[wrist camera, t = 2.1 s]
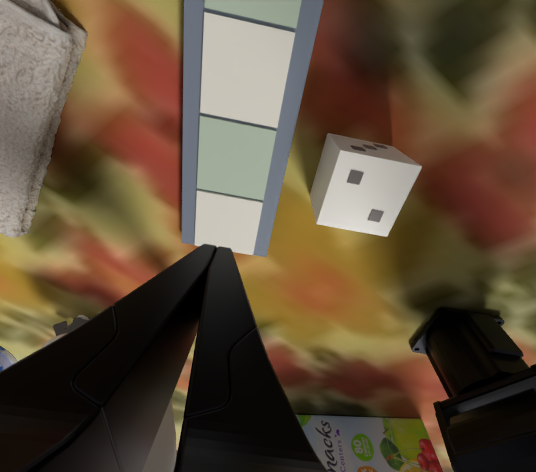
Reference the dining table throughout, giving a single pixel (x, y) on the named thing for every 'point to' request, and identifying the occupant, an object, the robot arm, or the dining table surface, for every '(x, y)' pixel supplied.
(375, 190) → the die
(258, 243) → the track board
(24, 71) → the washcloth
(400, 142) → the dining table surface
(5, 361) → the aerosol can
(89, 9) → the dining table surface
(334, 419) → the snack box
